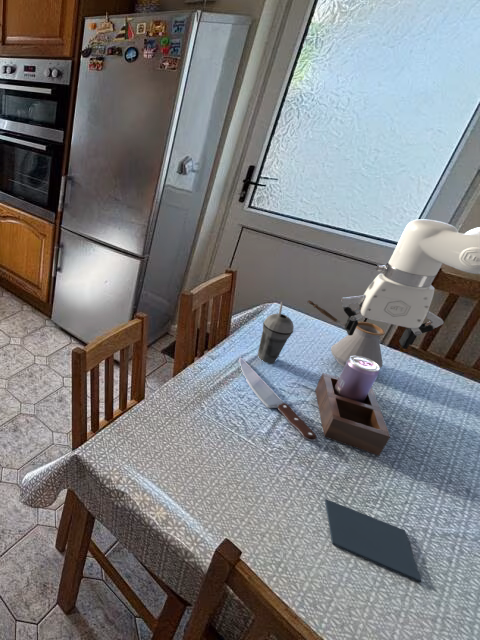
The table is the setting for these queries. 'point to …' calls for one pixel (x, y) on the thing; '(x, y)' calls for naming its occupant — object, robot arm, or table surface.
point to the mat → (371, 539)
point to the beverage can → (356, 378)
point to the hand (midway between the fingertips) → (375, 338)
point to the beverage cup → (274, 336)
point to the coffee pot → (356, 341)
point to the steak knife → (274, 401)
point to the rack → (351, 418)
